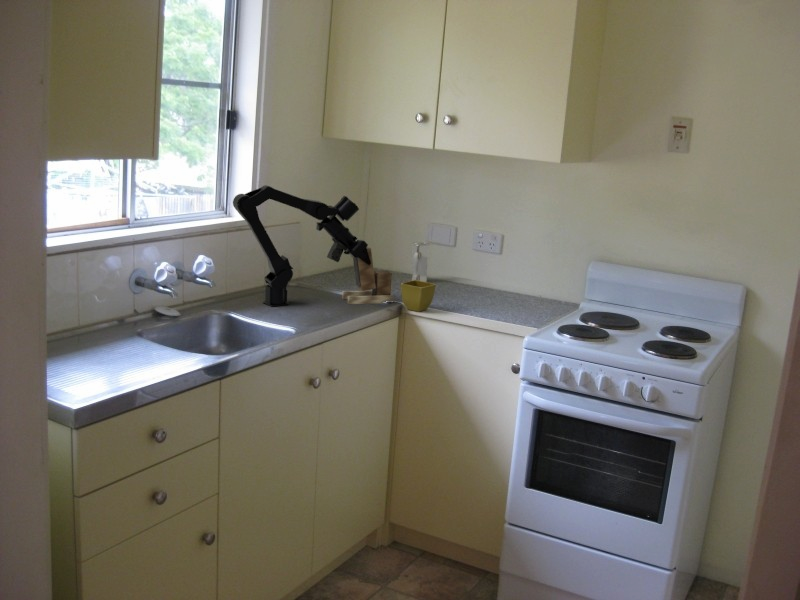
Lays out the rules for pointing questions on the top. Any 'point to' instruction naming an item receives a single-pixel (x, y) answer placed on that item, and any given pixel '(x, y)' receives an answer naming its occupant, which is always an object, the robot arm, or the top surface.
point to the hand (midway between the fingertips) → (367, 263)
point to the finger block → (364, 273)
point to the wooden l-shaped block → (374, 296)
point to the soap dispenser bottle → (420, 260)
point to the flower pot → (417, 294)
